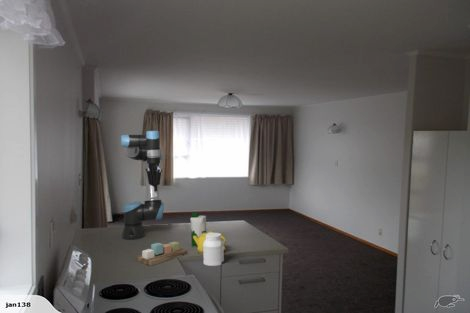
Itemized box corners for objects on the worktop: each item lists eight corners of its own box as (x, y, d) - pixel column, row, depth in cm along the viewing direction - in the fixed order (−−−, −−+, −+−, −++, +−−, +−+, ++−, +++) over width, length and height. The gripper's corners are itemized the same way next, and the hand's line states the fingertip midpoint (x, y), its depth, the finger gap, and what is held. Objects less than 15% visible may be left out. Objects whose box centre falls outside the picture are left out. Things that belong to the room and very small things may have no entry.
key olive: (168, 251, 214) (168, 243, 214) (174, 249, 217) (174, 241, 217) (173, 253, 211) (173, 244, 211) (179, 251, 214) (179, 242, 214)
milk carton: (194, 243, 235) (193, 211, 234) (208, 243, 233) (207, 212, 232) (189, 247, 226) (189, 214, 225) (204, 247, 224) (203, 215, 223)
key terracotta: (160, 254, 209) (159, 245, 209) (166, 252, 213) (166, 243, 213) (165, 255, 206) (165, 247, 206) (171, 253, 210) (171, 245, 210)
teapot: (189, 253, 214) (189, 233, 213) (197, 247, 225) (197, 228, 225) (222, 256, 208) (221, 235, 207) (228, 249, 220) (228, 230, 219)
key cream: (142, 259, 200) (142, 250, 200) (149, 257, 204) (149, 248, 204) (147, 261, 197) (147, 252, 197) (154, 259, 201) (154, 250, 201)
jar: (219, 266, 191) (218, 237, 190) (201, 265, 193) (201, 237, 192) (225, 259, 202) (224, 232, 201) (208, 258, 204) (207, 231, 204)
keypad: (135, 260, 203) (135, 256, 202) (171, 249, 222) (170, 245, 221) (151, 266, 193) (151, 261, 193) (186, 254, 212) (186, 249, 212)
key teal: (151, 253, 205) (151, 244, 205) (158, 251, 208) (157, 242, 208) (156, 254, 202) (156, 245, 202) (163, 252, 205) (163, 243, 205)
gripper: (141, 157, 219) (142, 196, 220) (155, 157, 211) (156, 198, 212) (151, 156, 225) (153, 194, 226) (165, 156, 216) (166, 196, 217)
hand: (154, 196), depth 219 cm, fingers closed
